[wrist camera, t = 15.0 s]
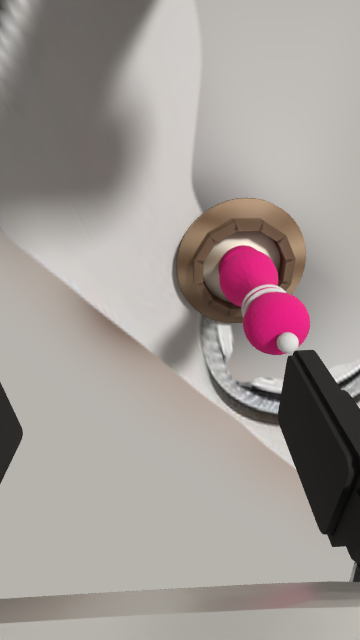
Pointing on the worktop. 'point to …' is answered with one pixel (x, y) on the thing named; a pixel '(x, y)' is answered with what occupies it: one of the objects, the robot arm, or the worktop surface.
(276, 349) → the pepper mill
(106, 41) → the worktop surface
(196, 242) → the round tray
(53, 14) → the worktop surface
